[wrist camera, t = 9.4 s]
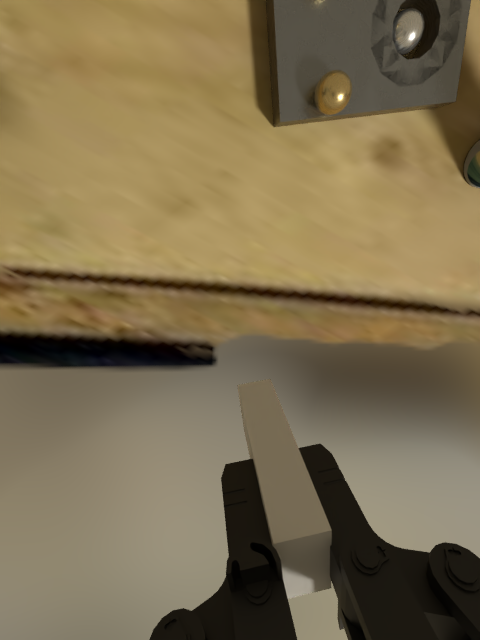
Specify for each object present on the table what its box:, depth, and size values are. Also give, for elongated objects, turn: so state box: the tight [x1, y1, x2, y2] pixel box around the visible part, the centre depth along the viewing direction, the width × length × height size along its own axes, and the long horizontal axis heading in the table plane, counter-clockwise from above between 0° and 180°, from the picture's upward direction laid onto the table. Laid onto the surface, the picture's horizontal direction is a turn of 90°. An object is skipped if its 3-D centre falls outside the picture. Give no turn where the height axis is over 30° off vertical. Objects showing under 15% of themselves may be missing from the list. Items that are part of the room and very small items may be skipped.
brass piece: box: [315, 70, 352, 115], centre depth 27 cm, size 3×3×3 cm
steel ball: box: [392, 8, 424, 55], centre depth 28 cm, size 3×3×3 cm
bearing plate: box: [266, 0, 471, 127], centre depth 28 cm, size 18×12×2 cm, turn 97°
